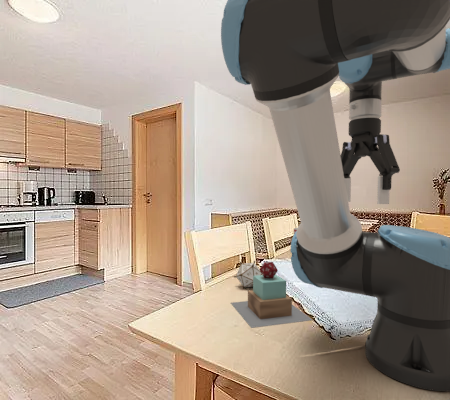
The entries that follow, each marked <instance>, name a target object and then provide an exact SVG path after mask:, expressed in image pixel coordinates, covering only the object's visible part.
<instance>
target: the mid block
mask: <svg viewBox="0 0 450 400" xmlns="http://www.w3.org/2000/svg"><path fill="white" fill-rule="evenodd" d="M252 290H253V292H254V293H255V294H256V295H258V296H259V297H260V298H261V299H262V300H267V299H277V298H286V295H287V280H286V279H284V278H282V277H281V276H279V275H277V273H276V274H275V276H274V277H273V278H264V276H263V275H257V276H253V287H252Z"/></svg>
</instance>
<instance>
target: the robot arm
mask: <svg viewBox="0 0 450 400" xmlns="http://www.w3.org/2000/svg"><path fill="white" fill-rule="evenodd" d="M449 22H450V0H227V1H226V3H225V5H224V8H223V16H222V19H221V27H220V41H221V49H222V50H221V51H222V54H223V59H224V61H225V64H226V67H227V70H228V72H229V74H230V75H231V77H232V78H234V81H236V82H237V83H239V84H242V85H244V86H246V85H247V86H249V85H251V88H252V91H253V92H252V93H253V95H254V98H255V100H256V102H258V103H259V104H262V105H264V106H265V107H267V108H268V109H269V112H270V116H271V119H272V123H273V126H274V130H275V134H276V138H277V140H278V144H279V148H280V151H281V152H280V153H281V155H282V160H283V162H284V167H285V169H286V174H287V177H288V180H289V181H288V182H289V183H290V187H291V192H292V195H293V198H294V201H295V205H296V209H297V213H298V216H299V220H300V224H298V227H297V228H298V229H297V231H296V232H295V234H294V233H293V236H292V238H291V242H290V253H291V257H290V261H291V265H292V267H291V268H292V269H293V271H294V274H295V275H296V277H297V278H298V279H299V280H300V281H301V282H302V283H304V284H308V285H312V286H314V287H317V288H321V289H329V290H335V291H340V292H346V293H350V294H351V293H352V294H356V295H363V296H367V297H373V298H377V306H376V307H377V309H376V314H375V318H374V320H373V322H372V325H371V328H370V333H369V334H368V335H367V337H366V340H365V356H366V358H367V360H368V362H369V363H370V364H371V365H372V366H373V368H375V369H376V370H379V372H381V373H383V374H384V375H386V376H388V377H390V378H391V379H393V380H396V381H397V382H400V383H403V384H406V385H408V386H412V387H415V388H419V389H424V390H427V391H428V390H429V391H434V392H435V391H438V392H450V236H447V235H444V234H440V233H437V232H434V231H429V230H425V229H419V228H416V227H410V226H409V227H408V226H401V225H398V226H397V225H391V224H383V225H380V227H379V229H378V230H377V232H372V231H363V226H362V223H361V221H360V220H359V219H358V218H357V216H355V215H354V214H352V213H351V211H350V206H349V205H350V204H349V203H350V202H351V199H352V198H351V191H352V189H351V187H352V185H351V184H352V178H351V176H350V175H351V174H352V172H353V171H354V169H355V166H356V165H357V163H358V162H359V160H361V158H365V157H369V158H370V160H371V162H372V163H373V164H374V166H375V167H376V169H377V171H378V173H379V174H378V176H377V196H376V197H377V198H376V199H377V201H376V202H377V205H390V190H391V189H392V177H393V176H394V175H395V174H399V172H400V167H399V164H398V161H397V158H396V156H395V153H394V151H393V149H392V146H391V144H390V142H391V141H390V135H389V134H382V120H381V119H380V118H381V117H382V92H383V91H382V90H383V87H382V86H383V85H382V84H383V82H387V81H391V80H396V79H401V78H406V77H413V76H419V75H426V74H430V73H433V74H435V73H439V72H441V71H447V70H450V28H449V27H448V28H447V25H448V24H449ZM338 77H339V79H340V80H341V81H342V82H343V84H345V85H346V86H347V87H348V89H349V98H348V99H349V103H348V104H349V108H348V113H349V114H348V116H349V117H348V119H349V120H350V121H349V122H348V136H350V137H351V142H350V141H344V142H343V143H342V150H341V149H340V145H339V137H338V132H337V125H336V121H335V119H336V118H335V115H334V114H335V113H334V107H333V102H332V96H331V95H332V94H331V88H332V87H333V85H334V83H335V82H336V80H337V79H338Z"/></svg>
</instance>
